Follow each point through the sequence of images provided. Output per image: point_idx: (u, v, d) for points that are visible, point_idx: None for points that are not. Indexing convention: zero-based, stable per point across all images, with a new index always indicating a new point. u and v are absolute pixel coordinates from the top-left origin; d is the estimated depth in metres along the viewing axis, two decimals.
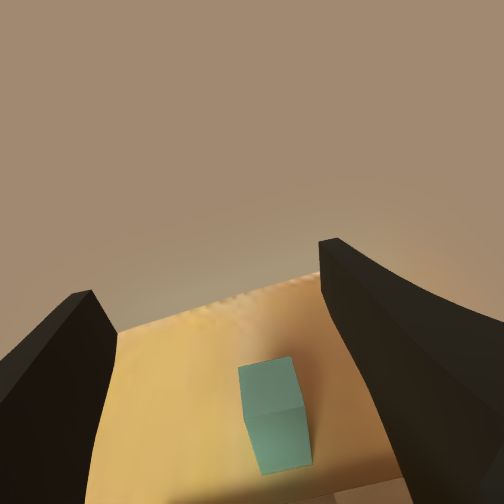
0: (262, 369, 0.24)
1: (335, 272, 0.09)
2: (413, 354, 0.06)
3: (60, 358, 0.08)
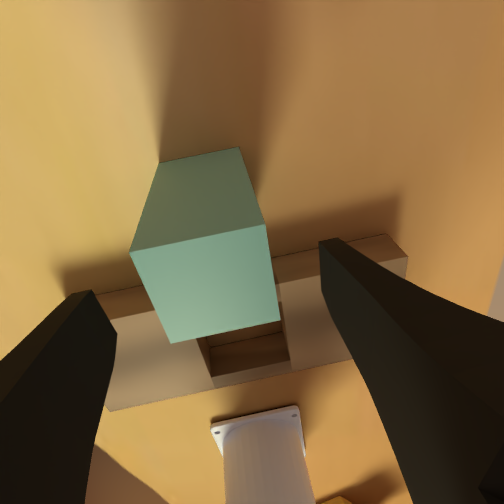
0: (195, 256, 0.10)
1: (335, 272, 0.09)
2: (414, 354, 0.06)
3: (60, 358, 0.08)
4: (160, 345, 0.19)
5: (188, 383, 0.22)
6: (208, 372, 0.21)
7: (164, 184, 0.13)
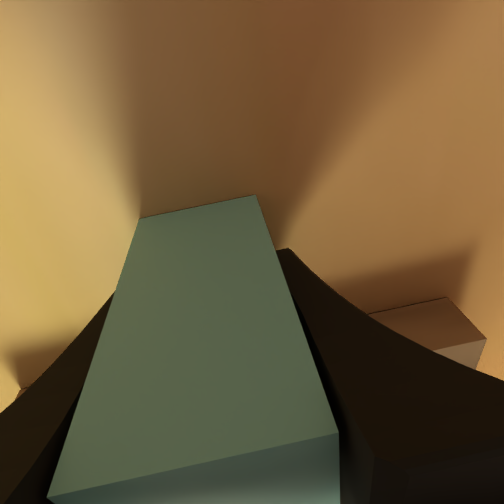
0: (189, 486, 0.05)
1: None
2: (325, 373, 0.05)
3: None
4: None
5: None
6: None
7: (142, 271, 0.08)
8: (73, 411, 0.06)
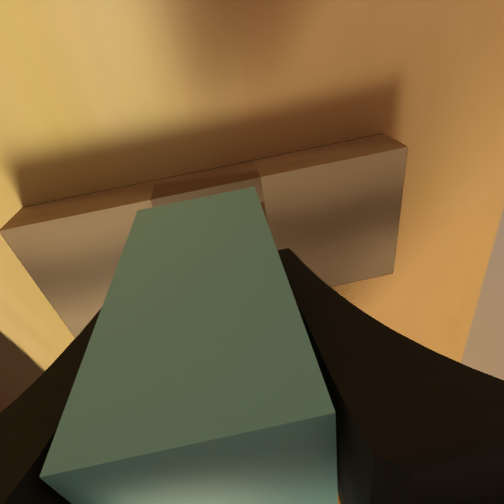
0: (184, 469, 0.05)
1: None
2: (325, 373, 0.05)
3: None
4: None
5: None
6: None
7: (140, 259, 0.08)
8: None
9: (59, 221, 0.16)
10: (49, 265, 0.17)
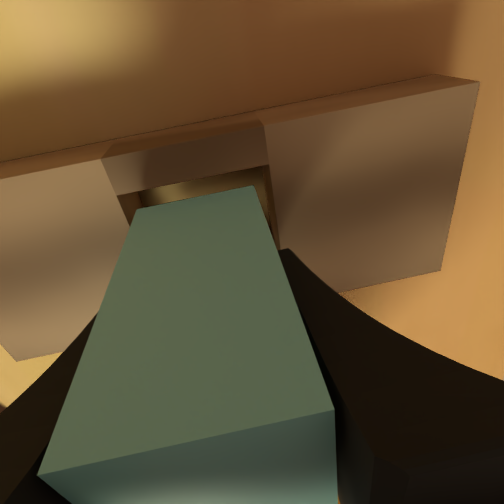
0: (183, 466, 0.05)
1: None
2: (326, 373, 0.06)
3: None
4: (75, 241, 0.12)
5: None
6: None
7: (139, 258, 0.08)
8: None
9: None
10: None
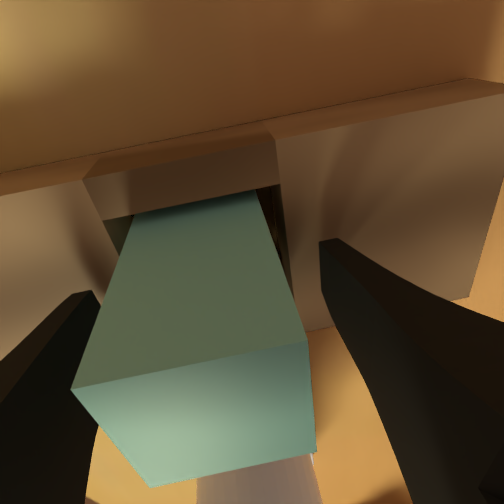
0: (186, 388, 0.06)
1: (335, 272, 0.09)
2: (414, 354, 0.06)
3: (60, 358, 0.08)
4: (55, 272, 0.10)
5: None
6: None
7: (146, 234, 0.09)
8: None
9: None
10: None
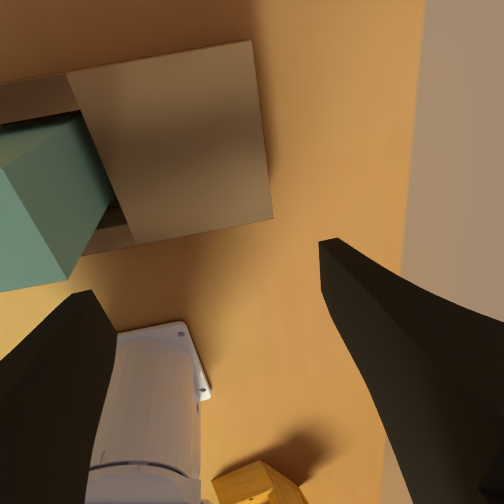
0: None
1: (335, 272, 0.09)
2: (413, 354, 0.06)
3: (60, 358, 0.08)
4: None
5: None
6: None
7: None
8: None
9: None
10: None
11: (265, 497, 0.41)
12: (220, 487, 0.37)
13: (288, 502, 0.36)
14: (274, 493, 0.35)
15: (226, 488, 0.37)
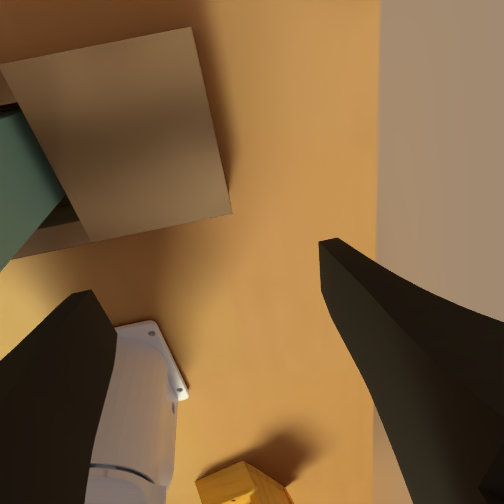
0: None
1: (335, 272, 0.09)
2: (413, 354, 0.06)
3: (60, 358, 0.08)
4: None
5: None
6: None
7: None
8: None
9: None
10: None
11: None
12: (203, 488, 0.37)
13: None
14: (256, 494, 0.34)
15: (209, 489, 0.36)
